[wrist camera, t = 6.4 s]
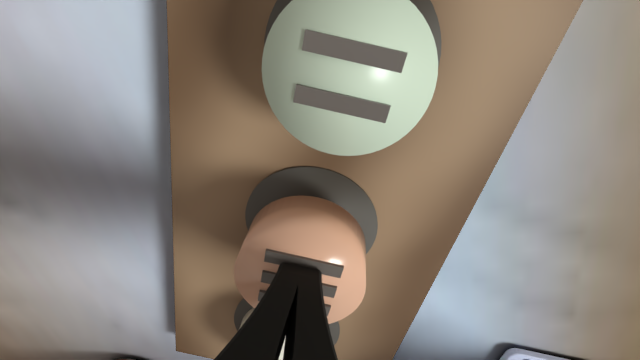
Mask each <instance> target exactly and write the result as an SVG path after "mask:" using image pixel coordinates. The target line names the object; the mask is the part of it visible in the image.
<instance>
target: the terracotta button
mask: <svg viewBox="0 0 640 360" xmlns="http://www.w3.org/2000/svg"><path fill="white" fill-rule="evenodd" d="M283 262H285V263H290V264H294V265H299V266H304V267H308V268H313V269H317V270H320V272H321V273H322V289H323V297H324V303H325V309H326V314H327V319H328V323H329V324H330V323H334V322H337V321H339V320H342V319H343V318H345V317H347V316H348V315H350V314H351V313H353V312H354V311H355V310H356V309H357V308H358V306H359V305H360V304H361V302H362V300H363V298H364V295H365V291H366V243H365V237H364V233H363V231H362V229H361V227H360V225H359V223H358V222H357V221H356V219H355V218H354V217H353V216H352V215H351V214H350V213H349V212H348V211H346V210H345V209H343V208H342V207H341V206H339V205H337V204H335V203H333V202H331V201H328V200H326V199H322V198H319V197H313V196H302V195H301V196H290V197H284V198H281V199H278V200H276V201H273V202H271V203H270V204H268V205H266V206H265V207H264V208H262V209H261V210H260V211H259V212H258V214H257V215H256V216H255V218H254V219H253V221H252V224H251V226H250V228H249V231H248V233H247V235H246V237H245V240H244V242H243V244H242V247H241V249H240V251H239V254H238V256H237V259H236V261H235V265H234V280H235V283H236V286H237V288H238V290H239V292H240V294H241V295H242V296H243V298H244V299H245V300H246V301H247V302H248V303H249V304H250V305H251V306H252V307H253V308H254V309H255V308H256V306H257V305H258V303H259V302H260V300H261V299H262V297H263V296H264V294H265V292H266V291H267V289H268V287H269V286H270V284H271V282H272V280H273V279H274V277H275V275H276V272H277V270H278V268H279V265H280V264H281V263H283Z"/></svg>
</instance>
